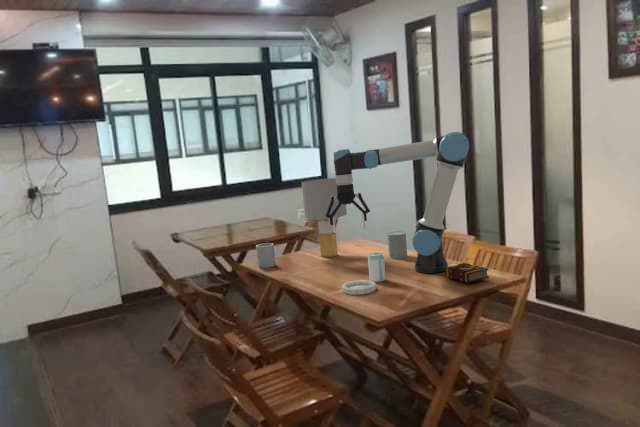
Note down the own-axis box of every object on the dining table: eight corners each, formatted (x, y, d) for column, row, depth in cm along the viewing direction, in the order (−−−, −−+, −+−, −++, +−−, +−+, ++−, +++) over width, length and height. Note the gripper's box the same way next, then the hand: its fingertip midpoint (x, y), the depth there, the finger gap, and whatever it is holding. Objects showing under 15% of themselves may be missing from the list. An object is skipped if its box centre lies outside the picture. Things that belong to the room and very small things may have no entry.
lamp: (357, 252, 306) (351, 177, 300) (336, 262, 287) (330, 182, 281) (322, 251, 318) (316, 179, 313) (300, 260, 299) (293, 183, 293)
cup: (277, 267, 288) (275, 244, 286) (261, 270, 285) (258, 247, 283) (272, 264, 296) (270, 242, 295) (256, 267, 293) (254, 244, 292)
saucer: (380, 285, 237) (379, 280, 236) (368, 295, 224) (368, 290, 224) (349, 284, 243) (349, 279, 242) (337, 294, 230) (336, 288, 230)
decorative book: (468, 283, 229) (467, 272, 228) (443, 276, 243) (442, 265, 243) (489, 278, 234) (488, 267, 233) (463, 272, 248) (462, 261, 248)
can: (367, 280, 248) (364, 254, 246) (381, 277, 250) (379, 251, 248) (374, 283, 241) (371, 256, 239) (388, 280, 243) (386, 254, 242)
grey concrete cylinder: (386, 256, 292) (384, 233, 290) (402, 253, 295) (400, 230, 293) (393, 259, 283) (392, 235, 281) (410, 256, 285) (409, 233, 284)
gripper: (370, 180, 255) (374, 225, 258) (316, 186, 253) (321, 232, 255) (373, 181, 248) (377, 227, 251) (318, 187, 245) (323, 234, 248)
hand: (349, 230), depth 253 cm, fingers open, 13 cm apart
